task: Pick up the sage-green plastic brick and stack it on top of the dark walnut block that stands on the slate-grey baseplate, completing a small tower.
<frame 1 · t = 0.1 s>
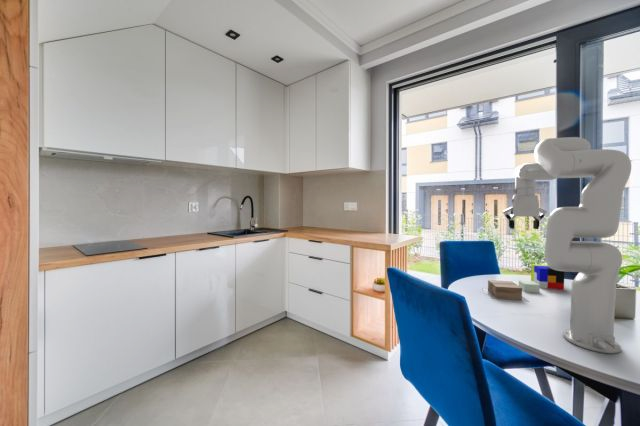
hand: (523, 228, 125), 31 cm above the table, tool pointing down, fingers open, 9 cm apart
baseplate: (503, 297, 123), on the table
puzzle toy: (546, 286, 139), on the table
walnut block: (504, 294, 122), point 1 cm above the table, touching baseplate
sage brick: (528, 292, 129), on the table
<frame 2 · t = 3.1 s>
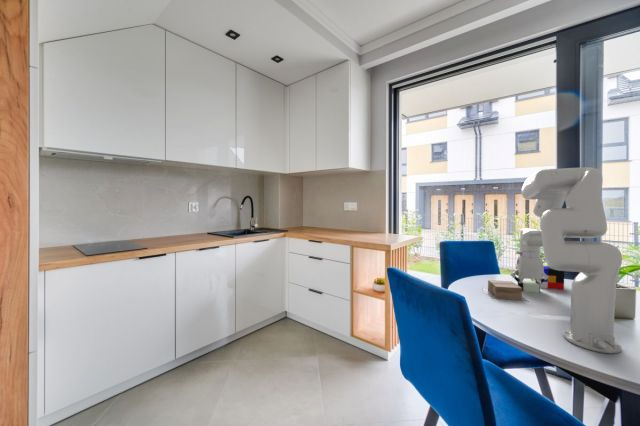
hand: (528, 291, 129), 1 cm above the table, tool pointing down, fingers closed on sage brick, 6 cm apart
sage brick: (528, 292, 129), on the table, touching gripper
everything else where it was.
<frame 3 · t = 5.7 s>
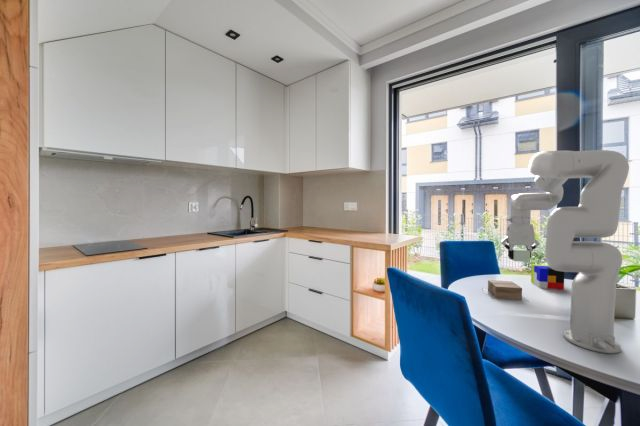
hand: (519, 258, 125), 17 cm above the table, tool pointing down, fingers closed on sage brick, 6 cm apart
sage brick: (519, 260, 125), point 16 cm above the table, touching gripper
everything else where it was.
when the fingers open (8 cm above the table, at t = 8.5 s): sage brick drops 1 cm, resting on walnut block.
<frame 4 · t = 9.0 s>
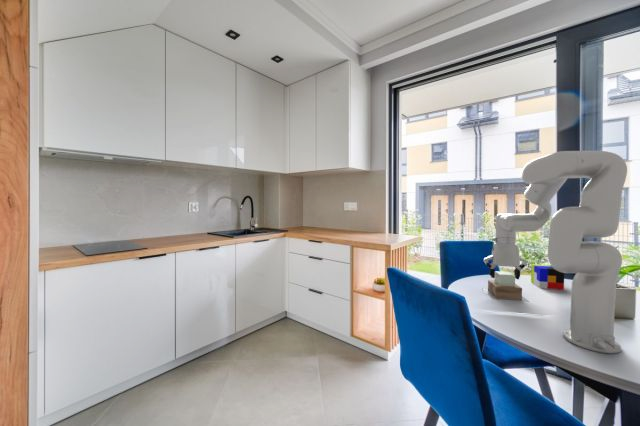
hand: (504, 277, 122), 9 cm above the table, tool pointing down, fingers open, 9 cm apart
walnut block: (504, 294, 122), point 1 cm above the table, touching baseplate, sage brick
sage brick: (504, 283, 122), point 6 cm above the table, touching walnut block
everything else where it was.
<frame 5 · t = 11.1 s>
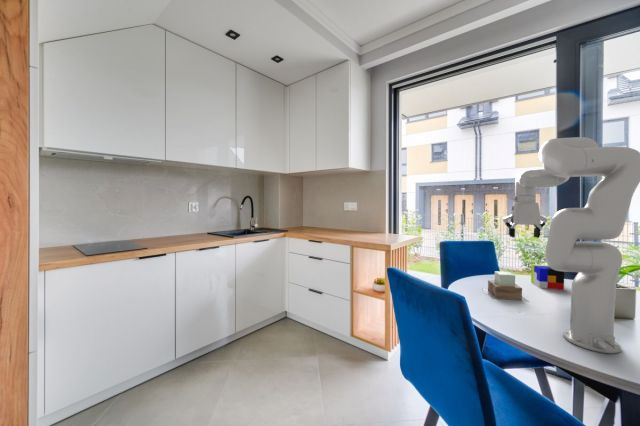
hand: (524, 237, 121), 28 cm above the table, tool pointing down, fingers open, 9 cm apart
nothing on the table moved.
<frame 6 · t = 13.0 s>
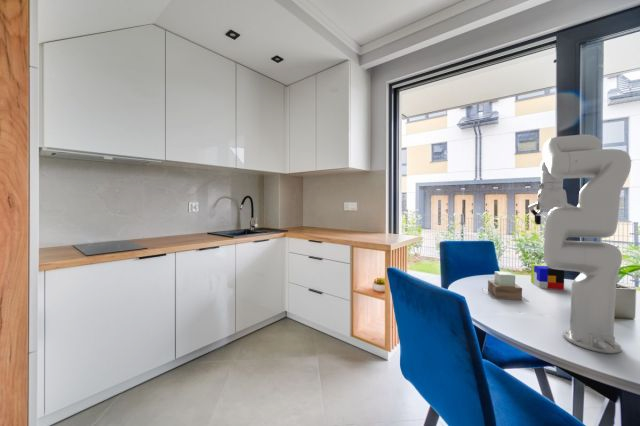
hand: (550, 224, 122), 33 cm above the table, tool pointing down, fingers open, 9 cm apart
nothing on the table moved.
at the end: sage brick 0.1 cm off-centre on the walnut block, point 5.0 cm above the walnut block's base; sage brick tilted 0°; the gripper is holding nothing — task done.
